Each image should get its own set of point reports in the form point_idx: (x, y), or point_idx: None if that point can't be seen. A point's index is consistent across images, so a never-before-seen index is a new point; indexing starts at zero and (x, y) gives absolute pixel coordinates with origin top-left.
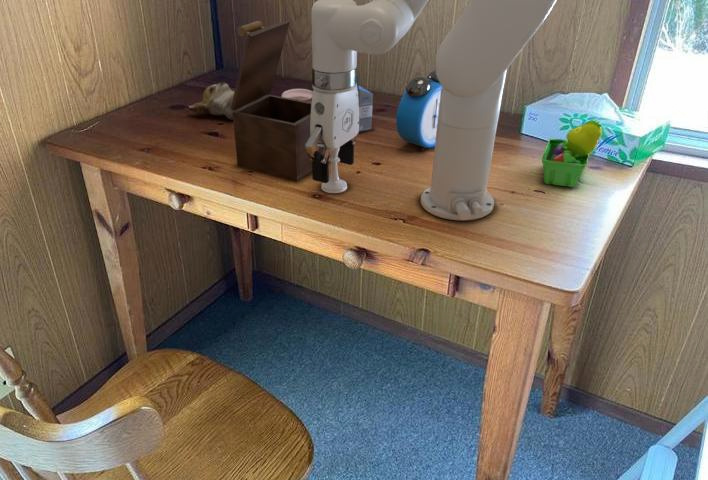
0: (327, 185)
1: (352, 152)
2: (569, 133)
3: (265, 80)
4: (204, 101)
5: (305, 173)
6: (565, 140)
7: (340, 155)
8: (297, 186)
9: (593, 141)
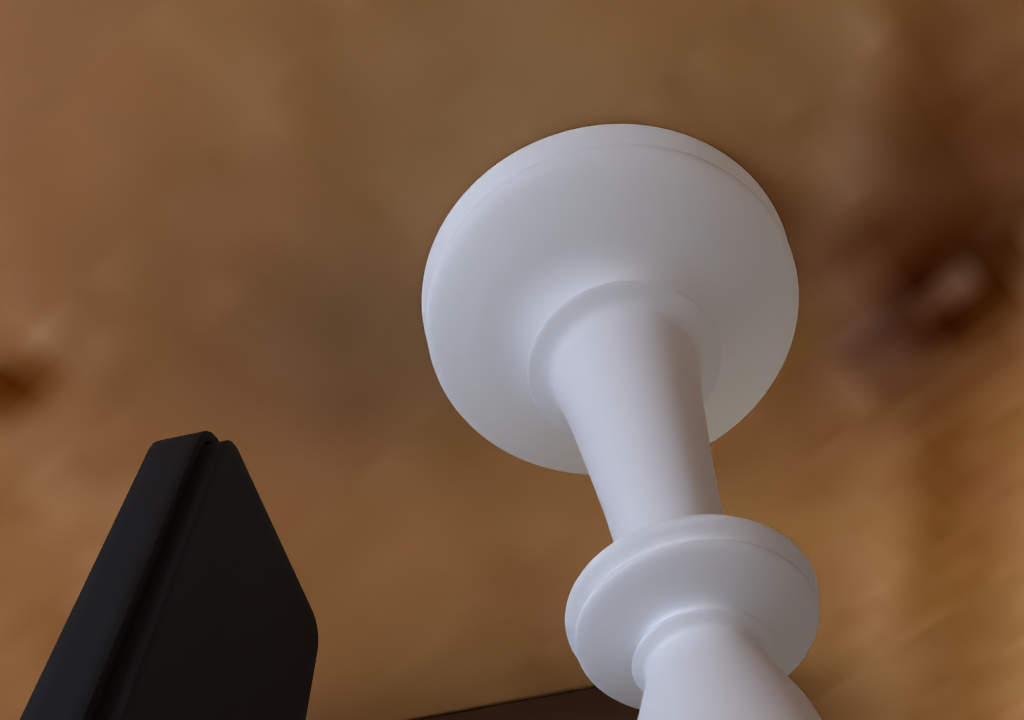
0: (752, 345)
1: (132, 610)
2: None
3: None
4: None
5: (590, 713)
6: None
7: (287, 699)
8: (844, 591)
9: None
